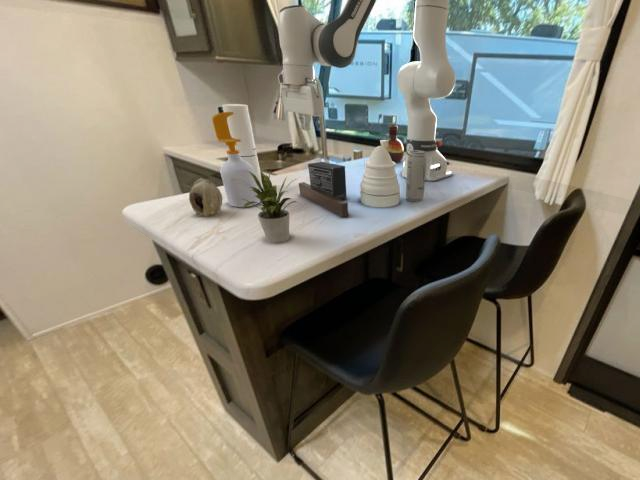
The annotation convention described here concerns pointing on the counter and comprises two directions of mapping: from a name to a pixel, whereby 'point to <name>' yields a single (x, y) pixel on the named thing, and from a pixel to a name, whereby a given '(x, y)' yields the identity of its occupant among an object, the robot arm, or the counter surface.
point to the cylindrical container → (243, 135)
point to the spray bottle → (234, 167)
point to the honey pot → (380, 179)
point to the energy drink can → (416, 175)
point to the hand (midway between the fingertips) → (305, 129)
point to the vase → (394, 145)
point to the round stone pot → (205, 198)
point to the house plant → (271, 209)
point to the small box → (328, 178)
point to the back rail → (324, 199)
